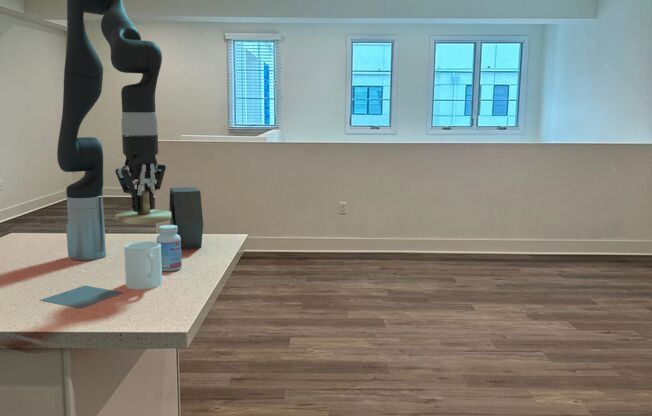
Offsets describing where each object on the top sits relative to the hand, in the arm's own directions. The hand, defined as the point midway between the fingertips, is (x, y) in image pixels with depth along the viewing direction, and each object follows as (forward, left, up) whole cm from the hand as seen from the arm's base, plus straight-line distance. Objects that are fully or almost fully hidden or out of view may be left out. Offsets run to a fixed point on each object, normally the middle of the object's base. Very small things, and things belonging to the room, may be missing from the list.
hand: (143, 210), depth 131 cm
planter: (-21, +40, -19) cm, 49 cm away
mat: (-7, -12, -18) cm, 23 cm away
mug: (0, 0, -18) cm, 18 cm away
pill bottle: (-7, +16, -18) cm, 25 cm away
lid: (0, 0, -2) cm, 2 cm away
